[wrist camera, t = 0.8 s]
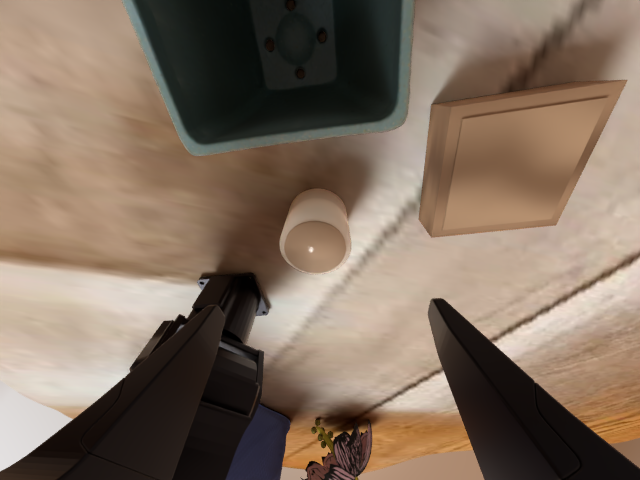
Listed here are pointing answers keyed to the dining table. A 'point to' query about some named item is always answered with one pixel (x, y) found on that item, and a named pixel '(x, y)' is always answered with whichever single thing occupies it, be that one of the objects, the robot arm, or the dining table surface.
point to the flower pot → (277, 68)
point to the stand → (510, 156)
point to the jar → (316, 232)
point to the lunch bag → (261, 447)
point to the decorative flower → (341, 455)
